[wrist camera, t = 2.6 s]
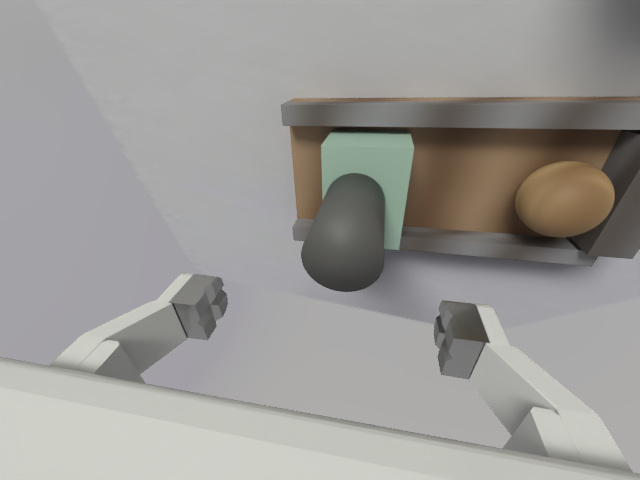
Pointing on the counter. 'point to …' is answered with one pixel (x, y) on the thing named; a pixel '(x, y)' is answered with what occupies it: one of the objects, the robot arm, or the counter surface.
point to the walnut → (564, 199)
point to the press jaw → (358, 207)
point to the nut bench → (484, 168)
